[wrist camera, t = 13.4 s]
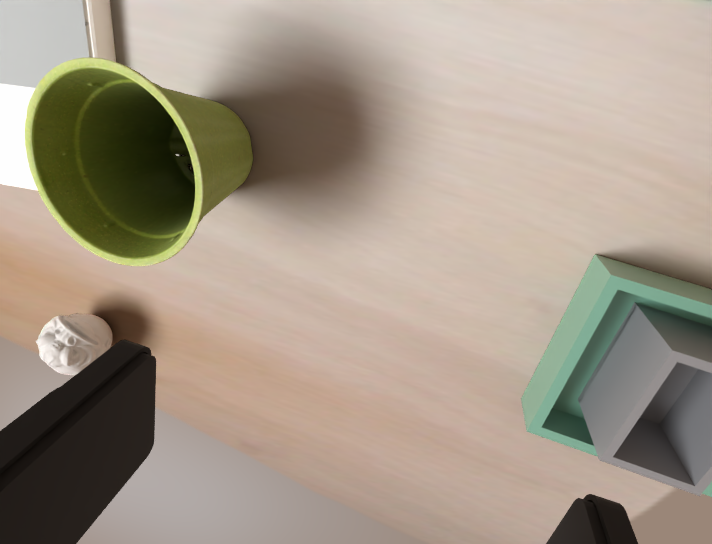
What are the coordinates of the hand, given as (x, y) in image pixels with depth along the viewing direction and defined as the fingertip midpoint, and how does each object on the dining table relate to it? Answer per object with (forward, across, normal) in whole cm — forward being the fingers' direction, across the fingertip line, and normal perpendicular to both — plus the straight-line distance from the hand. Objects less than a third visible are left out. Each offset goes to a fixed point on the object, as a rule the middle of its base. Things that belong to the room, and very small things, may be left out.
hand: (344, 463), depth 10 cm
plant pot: (+27, +17, +2) cm, 32 cm away
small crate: (+24, -19, +8) cm, 32 cm away
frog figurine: (+26, +28, +22) cm, 44 cm away
